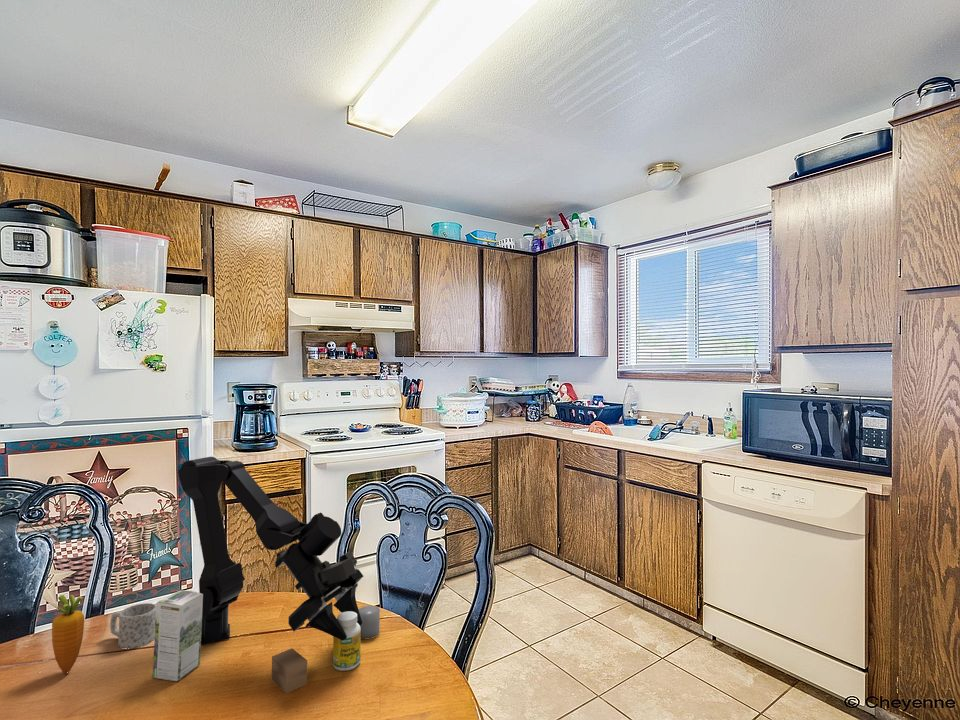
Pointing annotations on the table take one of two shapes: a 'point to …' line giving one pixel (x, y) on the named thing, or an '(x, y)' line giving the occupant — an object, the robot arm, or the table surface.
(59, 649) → the carrot
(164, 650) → the syrup box
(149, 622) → the mug
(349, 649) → the supplement bottle
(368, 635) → the gray capsule
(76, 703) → the table surface
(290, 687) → the walnut block
